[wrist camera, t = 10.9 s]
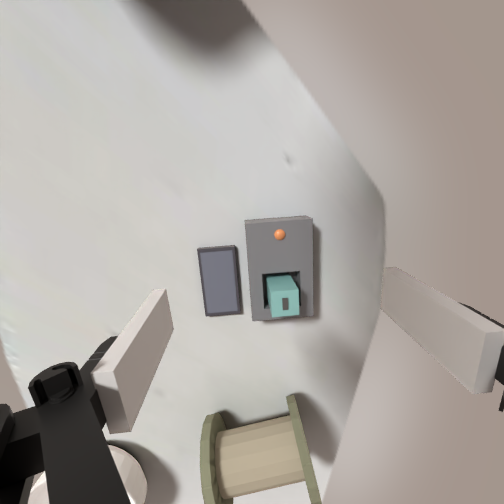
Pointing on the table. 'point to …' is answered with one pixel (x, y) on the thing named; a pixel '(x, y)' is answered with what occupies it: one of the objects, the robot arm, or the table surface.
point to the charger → (282, 295)
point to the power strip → (280, 260)
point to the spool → (254, 457)
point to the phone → (219, 280)
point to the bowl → (128, 473)
